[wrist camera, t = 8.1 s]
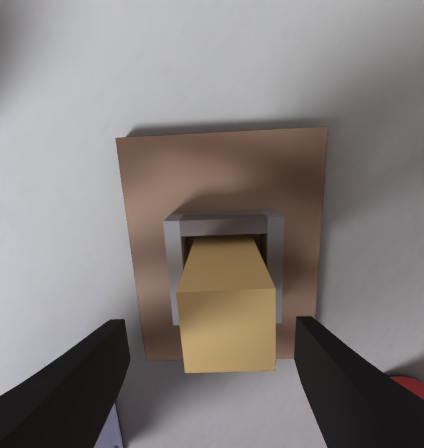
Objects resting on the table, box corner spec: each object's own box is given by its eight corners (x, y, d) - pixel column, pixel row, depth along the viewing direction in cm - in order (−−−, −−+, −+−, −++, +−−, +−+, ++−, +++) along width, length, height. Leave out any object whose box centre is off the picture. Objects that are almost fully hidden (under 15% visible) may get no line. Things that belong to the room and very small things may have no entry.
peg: (251, 282, 18) (275, 370, 10) (199, 284, 18) (185, 373, 11) (250, 232, 17) (275, 288, 9) (195, 235, 17) (175, 292, 10)
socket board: (307, 347, 21) (325, 385, 17) (150, 349, 21) (135, 387, 18) (320, 129, 16) (348, 119, 13) (122, 139, 17) (96, 133, 13)
